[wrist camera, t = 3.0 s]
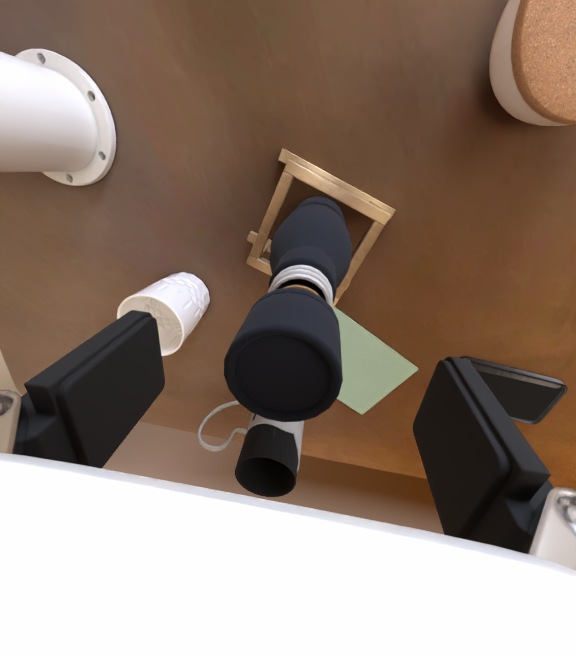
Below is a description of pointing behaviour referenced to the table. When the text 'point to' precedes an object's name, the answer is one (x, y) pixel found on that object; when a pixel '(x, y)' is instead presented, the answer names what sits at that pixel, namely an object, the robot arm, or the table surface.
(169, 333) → the white cup
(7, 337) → the table surface
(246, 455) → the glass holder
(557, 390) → the phone
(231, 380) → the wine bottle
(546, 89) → the lidded bowl
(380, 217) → the bottle stand
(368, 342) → the mat
